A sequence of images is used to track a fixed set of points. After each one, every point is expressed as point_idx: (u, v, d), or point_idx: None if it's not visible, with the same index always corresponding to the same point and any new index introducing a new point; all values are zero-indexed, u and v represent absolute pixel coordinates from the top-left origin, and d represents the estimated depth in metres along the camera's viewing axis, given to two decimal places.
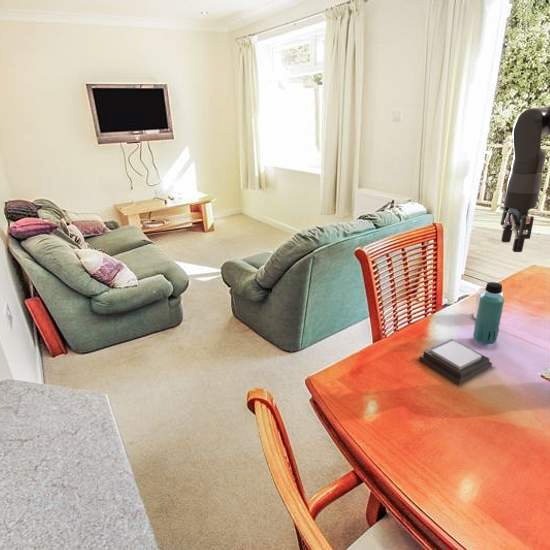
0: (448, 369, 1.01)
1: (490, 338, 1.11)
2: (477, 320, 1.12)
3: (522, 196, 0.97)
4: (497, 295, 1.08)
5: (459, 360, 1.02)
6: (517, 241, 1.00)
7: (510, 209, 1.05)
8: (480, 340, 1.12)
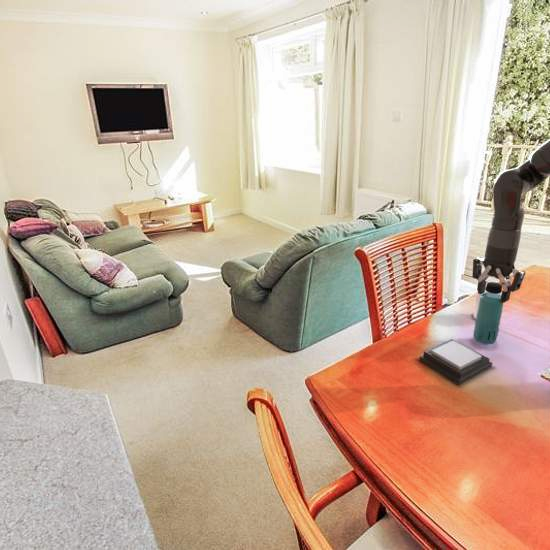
0: (448, 369, 1.01)
1: (490, 338, 1.11)
2: (477, 320, 1.12)
3: (512, 251, 1.00)
4: (497, 295, 1.08)
5: (459, 360, 1.02)
6: (506, 293, 1.04)
7: (487, 261, 1.06)
8: (480, 340, 1.12)
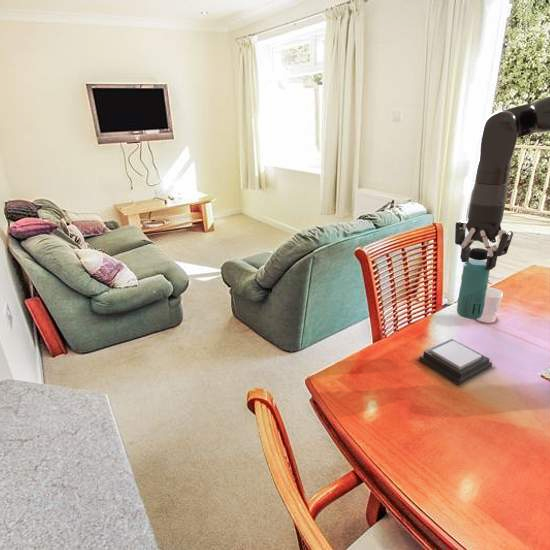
0: (448, 369, 1.01)
1: (475, 312, 0.98)
2: (460, 292, 1.00)
3: (497, 209, 0.87)
4: (482, 262, 0.96)
5: (459, 360, 1.02)
6: (492, 258, 0.92)
7: (471, 223, 0.94)
8: (464, 314, 1.00)
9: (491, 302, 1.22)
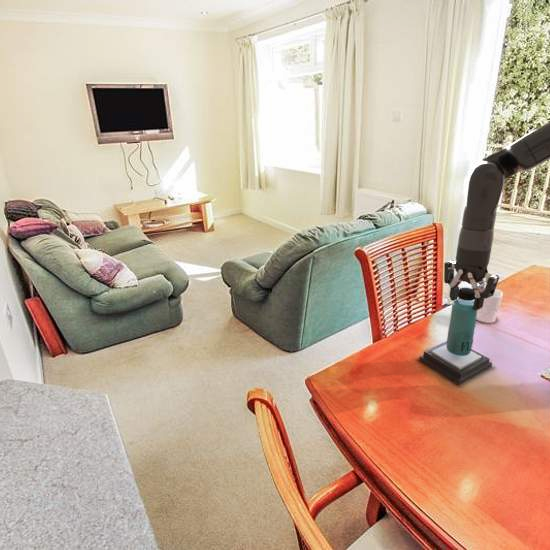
0: (448, 369, 1.01)
1: (464, 349, 1.01)
2: (450, 329, 1.02)
3: (484, 253, 0.90)
4: (470, 302, 0.98)
5: (459, 361, 1.02)
6: (479, 300, 0.94)
7: (459, 264, 0.96)
8: (453, 351, 1.02)
9: (491, 302, 1.22)
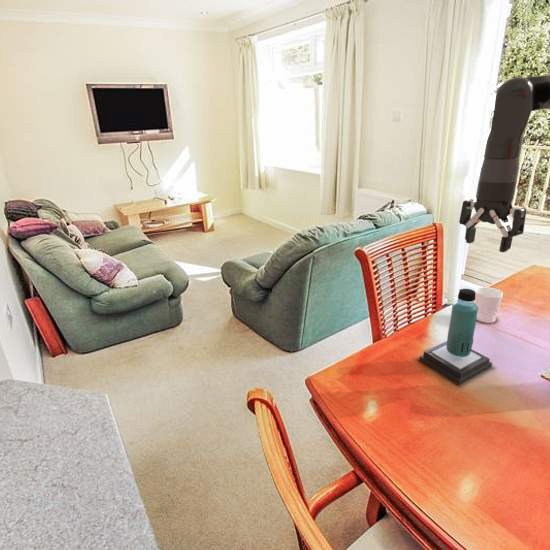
0: (448, 369, 1.01)
1: (464, 350, 1.01)
2: (450, 330, 1.02)
3: (509, 186, 0.81)
4: (470, 303, 0.98)
5: (459, 362, 1.02)
6: (507, 239, 0.84)
7: (480, 204, 0.87)
8: (453, 352, 1.02)
9: (491, 302, 1.22)
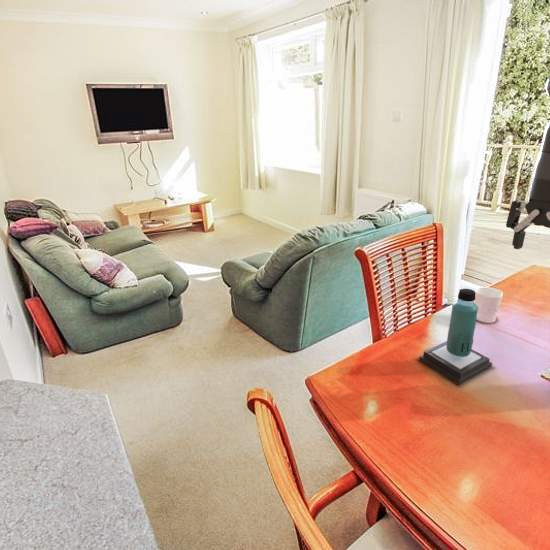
0: (448, 369, 1.01)
1: (464, 350, 1.01)
2: (450, 330, 1.02)
3: None
4: (470, 303, 0.98)
5: (459, 362, 1.02)
6: None
7: (533, 205, 0.77)
8: (453, 352, 1.02)
9: (491, 302, 1.22)
